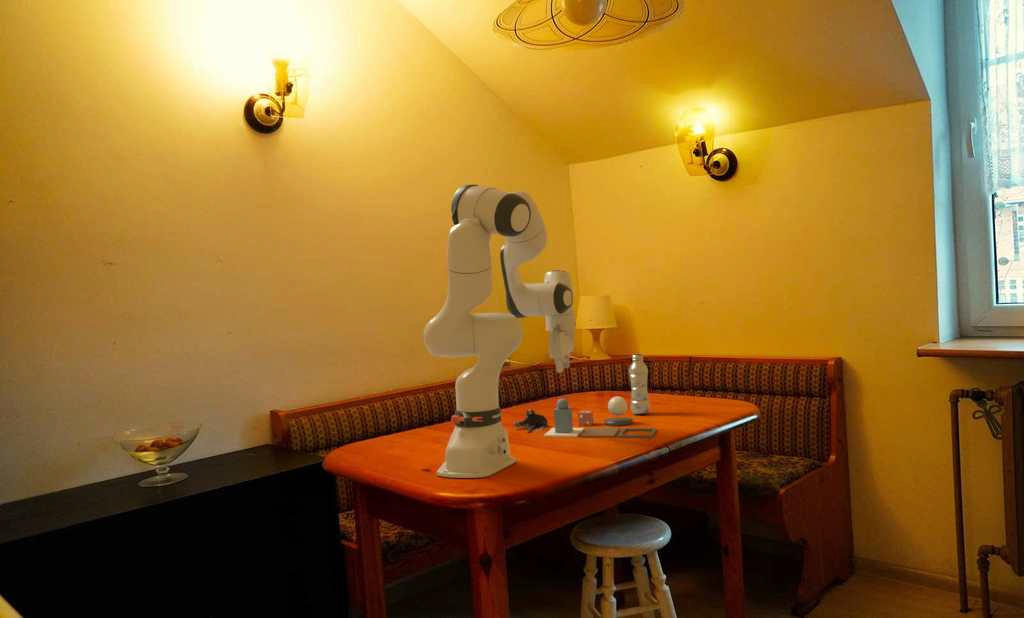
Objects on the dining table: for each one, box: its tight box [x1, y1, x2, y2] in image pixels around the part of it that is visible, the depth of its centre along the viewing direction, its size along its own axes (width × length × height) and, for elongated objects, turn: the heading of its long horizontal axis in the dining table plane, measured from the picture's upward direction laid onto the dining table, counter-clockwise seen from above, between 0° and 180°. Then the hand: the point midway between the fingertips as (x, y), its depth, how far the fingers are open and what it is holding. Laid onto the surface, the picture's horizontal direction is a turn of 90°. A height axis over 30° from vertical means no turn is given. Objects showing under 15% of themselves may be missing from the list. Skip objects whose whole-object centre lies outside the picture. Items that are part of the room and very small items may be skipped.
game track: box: [543, 427, 657, 439], centre depth 213 cm, size 10×32×1 cm, turn 72°
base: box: [603, 416, 634, 427], centre depth 226 cm, size 9×9×1 cm
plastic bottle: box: [628, 353, 651, 416], centre depth 239 cm, size 6×7×20 cm
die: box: [577, 410, 595, 427], centre depth 227 cm, size 4×4×4 cm
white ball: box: [607, 396, 628, 417], centre depth 226 cm, size 6×6×6 cm
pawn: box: [553, 397, 574, 433], centre depth 216 cm, size 4×4×10 cm
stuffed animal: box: [512, 408, 549, 434], centre depth 228 cm, size 12×10×12 cm
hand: (563, 369), depth 216 cm, fingers open, 8 cm apart
